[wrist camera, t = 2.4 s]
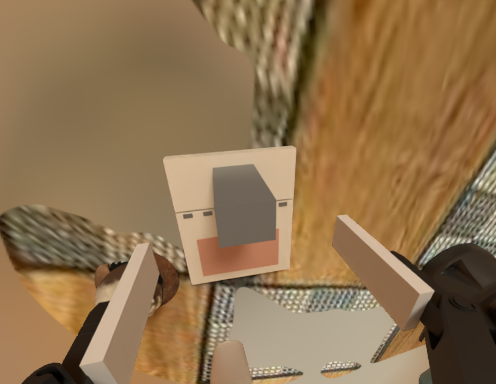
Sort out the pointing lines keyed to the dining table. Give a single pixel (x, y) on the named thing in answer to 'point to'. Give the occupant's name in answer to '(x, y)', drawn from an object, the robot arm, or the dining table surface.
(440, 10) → the dining table surface
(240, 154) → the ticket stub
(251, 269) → the white flat piece
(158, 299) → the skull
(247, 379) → the foam cup
